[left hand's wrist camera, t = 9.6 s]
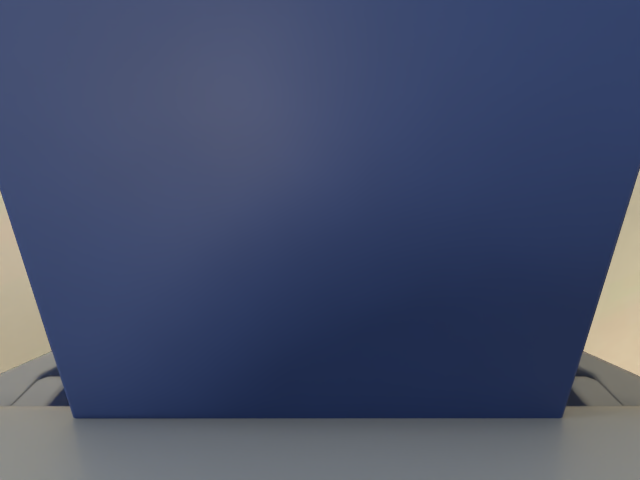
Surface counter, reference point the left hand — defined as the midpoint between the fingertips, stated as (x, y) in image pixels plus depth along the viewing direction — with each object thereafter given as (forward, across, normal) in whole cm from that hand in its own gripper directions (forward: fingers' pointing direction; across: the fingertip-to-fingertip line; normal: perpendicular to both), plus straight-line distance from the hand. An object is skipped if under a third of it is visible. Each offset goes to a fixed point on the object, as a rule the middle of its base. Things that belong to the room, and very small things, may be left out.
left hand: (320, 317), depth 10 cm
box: (+6, 0, +7) cm, 9 cm away
